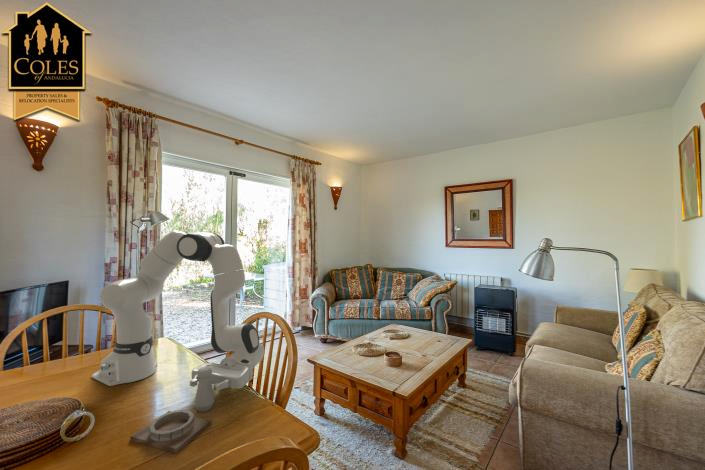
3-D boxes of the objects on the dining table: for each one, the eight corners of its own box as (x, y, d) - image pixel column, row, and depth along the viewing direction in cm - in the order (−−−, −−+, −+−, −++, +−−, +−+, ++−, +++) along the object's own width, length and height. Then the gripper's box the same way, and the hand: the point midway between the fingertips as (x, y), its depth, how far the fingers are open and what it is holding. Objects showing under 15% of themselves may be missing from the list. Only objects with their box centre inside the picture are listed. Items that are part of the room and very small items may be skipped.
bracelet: (61, 449, 77) (61, 419, 77) (59, 444, 79) (59, 414, 79) (96, 435, 83) (96, 406, 83) (92, 430, 85) (92, 402, 85)
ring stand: (130, 440, 81) (130, 428, 81) (169, 414, 92) (169, 404, 92) (176, 453, 76) (176, 441, 76) (210, 424, 88) (210, 413, 88)
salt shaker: (200, 416, 92) (201, 374, 92) (190, 410, 95) (190, 369, 95) (218, 406, 97) (218, 367, 97) (207, 401, 100) (208, 363, 100)
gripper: (209, 355, 111) (177, 372, 98) (255, 362, 105) (229, 381, 92) (209, 372, 111) (177, 390, 98) (255, 380, 106) (229, 401, 92)
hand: (203, 386), depth 95 cm, fingers open, 8 cm apart
